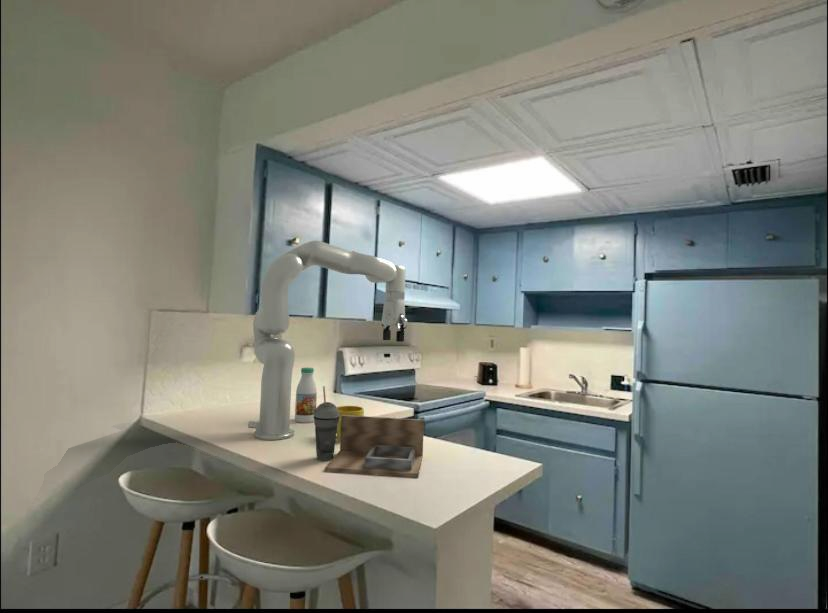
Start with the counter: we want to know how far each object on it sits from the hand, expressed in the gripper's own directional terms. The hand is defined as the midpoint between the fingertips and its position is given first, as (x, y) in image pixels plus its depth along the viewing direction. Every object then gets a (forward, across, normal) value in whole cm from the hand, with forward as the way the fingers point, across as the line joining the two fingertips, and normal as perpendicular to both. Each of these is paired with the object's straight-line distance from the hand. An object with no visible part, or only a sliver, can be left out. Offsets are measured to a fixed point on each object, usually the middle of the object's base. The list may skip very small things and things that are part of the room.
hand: (393, 340), depth 172 cm
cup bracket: (+31, +41, -30) cm, 60 cm away
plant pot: (+32, +14, -25) cm, 43 cm away
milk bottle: (+31, -15, -28) cm, 45 cm away
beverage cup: (+31, +30, -40) cm, 59 cm away
